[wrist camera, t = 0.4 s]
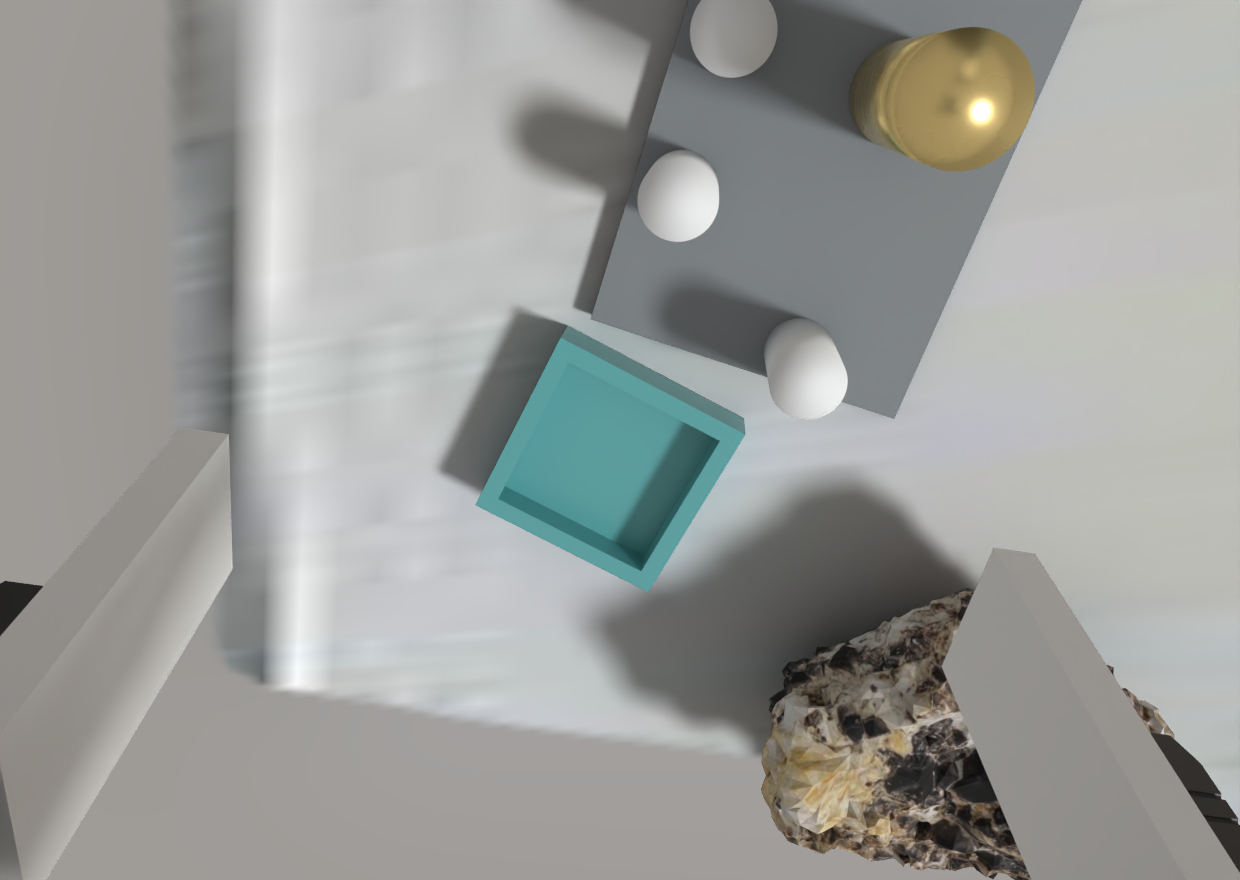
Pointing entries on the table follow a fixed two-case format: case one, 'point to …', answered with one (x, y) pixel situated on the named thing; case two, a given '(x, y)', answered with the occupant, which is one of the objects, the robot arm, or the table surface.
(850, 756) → the mineral specimen
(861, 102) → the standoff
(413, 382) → the table surface
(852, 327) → the board
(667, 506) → the tray
